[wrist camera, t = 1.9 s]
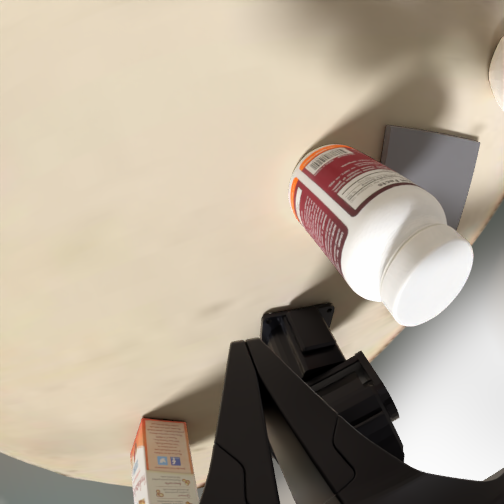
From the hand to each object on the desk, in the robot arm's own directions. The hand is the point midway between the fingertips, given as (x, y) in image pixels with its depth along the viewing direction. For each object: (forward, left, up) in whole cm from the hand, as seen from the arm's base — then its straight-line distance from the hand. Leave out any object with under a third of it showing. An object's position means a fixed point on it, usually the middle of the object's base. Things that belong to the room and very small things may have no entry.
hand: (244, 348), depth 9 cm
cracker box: (-33, +10, -12) cm, 37 cm away
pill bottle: (0, -8, -12) cm, 15 cm away
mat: (-1, -18, -12) cm, 22 cm away
